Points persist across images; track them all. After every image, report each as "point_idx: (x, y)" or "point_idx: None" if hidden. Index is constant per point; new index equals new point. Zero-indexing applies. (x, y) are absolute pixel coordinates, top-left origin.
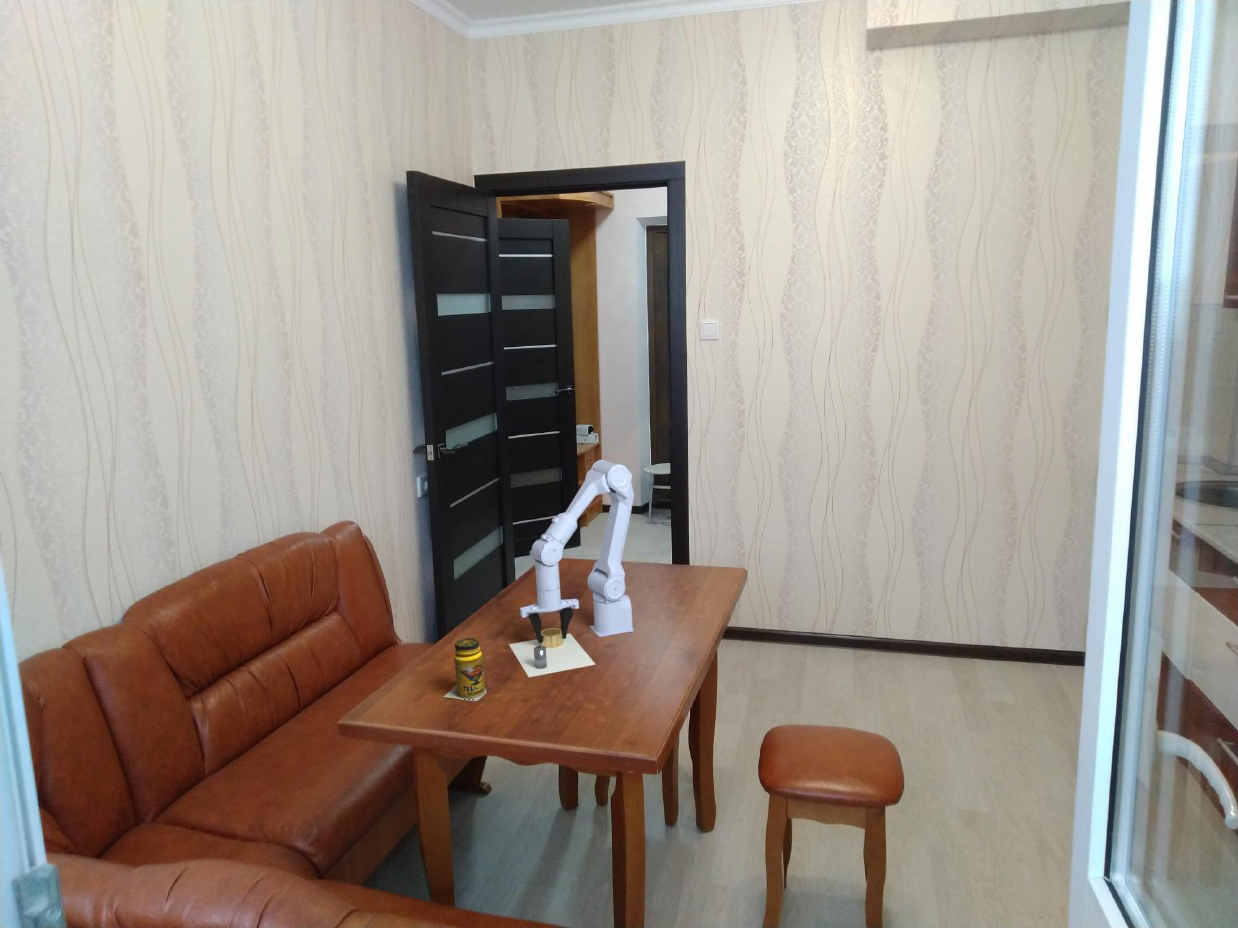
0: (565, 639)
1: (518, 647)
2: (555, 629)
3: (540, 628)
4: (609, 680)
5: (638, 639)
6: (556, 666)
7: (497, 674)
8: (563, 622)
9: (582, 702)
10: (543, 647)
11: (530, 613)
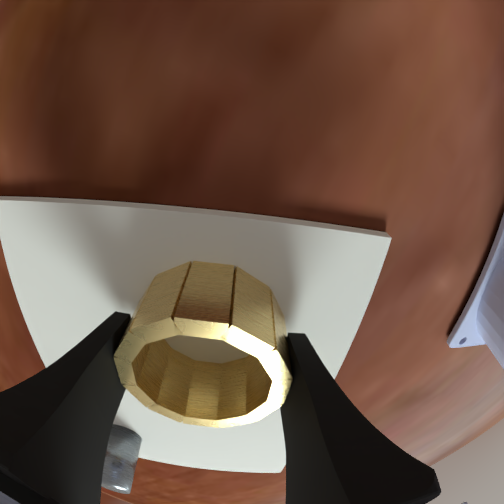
0: (312, 310)
1: (31, 266)
2: (254, 353)
3: (103, 445)
4: (267, 491)
5: (485, 381)
6: (170, 452)
7: (14, 382)
8: (290, 470)
9: (188, 499)
10: (122, 489)
11: (5, 497)
